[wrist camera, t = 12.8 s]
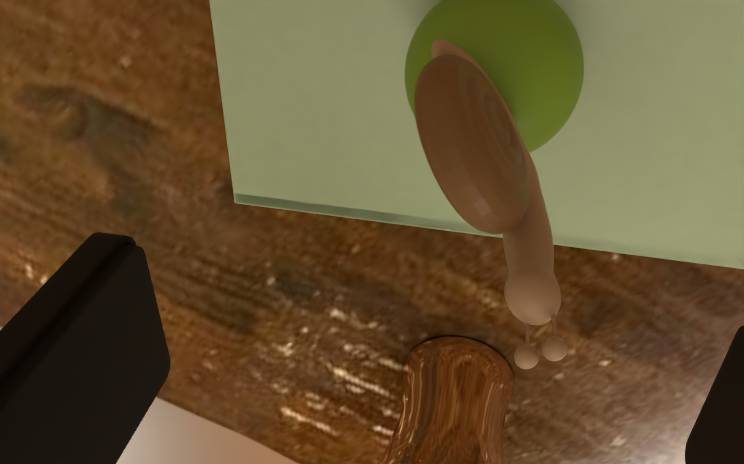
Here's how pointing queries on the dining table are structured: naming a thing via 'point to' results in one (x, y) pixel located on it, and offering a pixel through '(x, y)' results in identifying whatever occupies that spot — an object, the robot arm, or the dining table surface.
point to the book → (552, 160)
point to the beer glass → (452, 405)
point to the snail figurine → (499, 131)
